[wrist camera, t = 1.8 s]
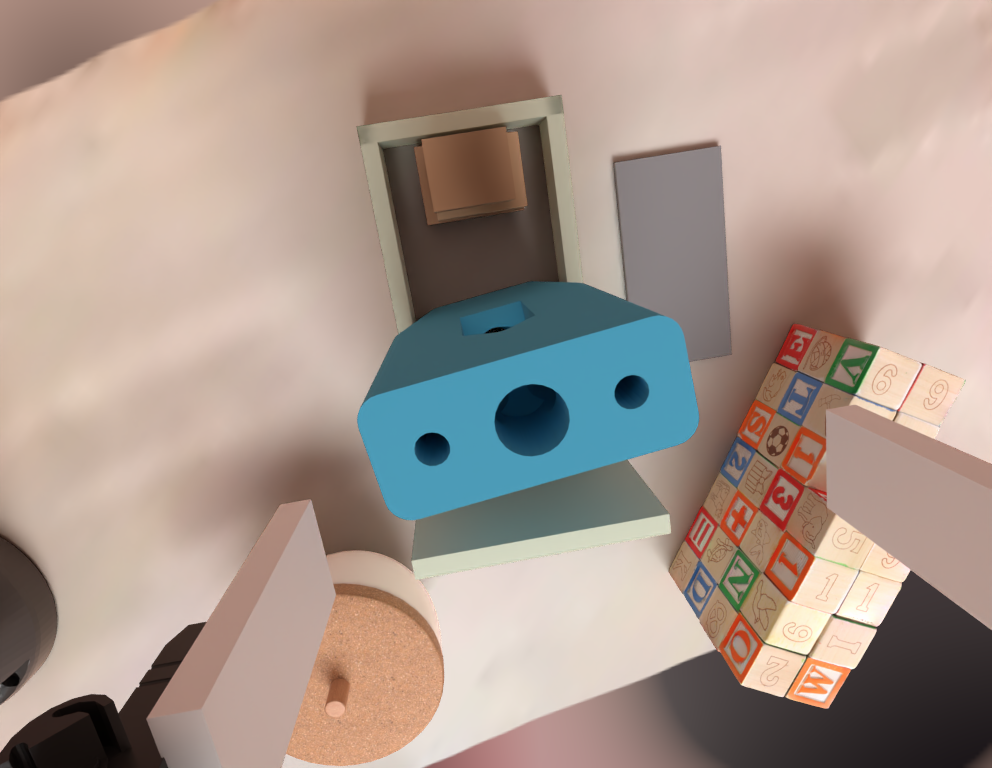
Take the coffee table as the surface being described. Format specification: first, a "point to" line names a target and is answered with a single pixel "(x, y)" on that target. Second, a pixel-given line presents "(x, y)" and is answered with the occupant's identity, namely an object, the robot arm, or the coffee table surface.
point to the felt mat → (677, 244)
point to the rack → (616, 487)
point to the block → (522, 395)
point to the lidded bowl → (371, 665)
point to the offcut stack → (471, 175)
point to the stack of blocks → (801, 521)
